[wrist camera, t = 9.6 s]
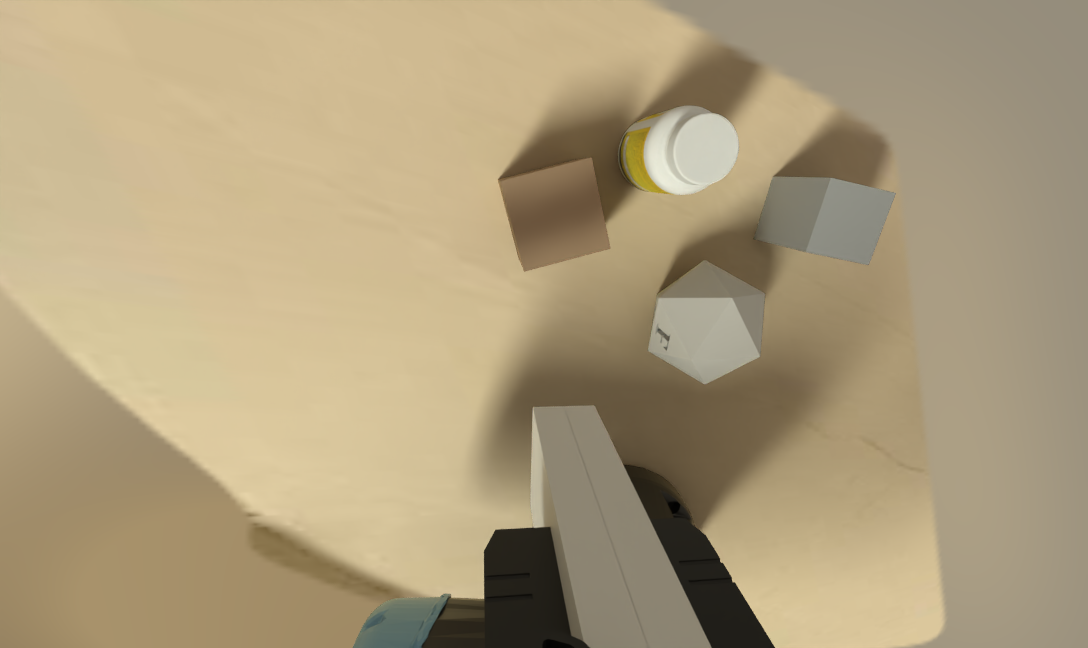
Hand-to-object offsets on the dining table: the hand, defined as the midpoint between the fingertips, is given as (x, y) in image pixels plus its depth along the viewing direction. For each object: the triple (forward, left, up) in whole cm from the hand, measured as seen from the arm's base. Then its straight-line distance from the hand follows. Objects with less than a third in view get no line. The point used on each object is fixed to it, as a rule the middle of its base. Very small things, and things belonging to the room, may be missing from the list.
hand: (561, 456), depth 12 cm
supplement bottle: (+8, -11, -29) cm, 32 cm away
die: (-4, -15, -29) cm, 33 cm away
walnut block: (+4, -3, -29) cm, 29 cm away
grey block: (+4, -23, -29) cm, 37 cm away
